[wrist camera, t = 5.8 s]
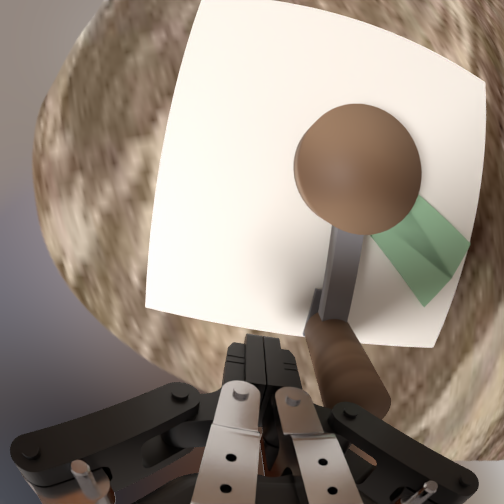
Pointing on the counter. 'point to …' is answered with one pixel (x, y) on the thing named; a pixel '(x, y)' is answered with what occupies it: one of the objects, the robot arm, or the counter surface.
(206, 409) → the robot arm
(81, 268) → the counter surface
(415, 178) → the crank handle
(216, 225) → the white square slab
